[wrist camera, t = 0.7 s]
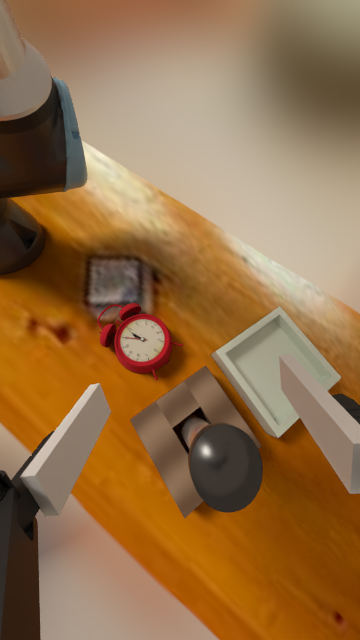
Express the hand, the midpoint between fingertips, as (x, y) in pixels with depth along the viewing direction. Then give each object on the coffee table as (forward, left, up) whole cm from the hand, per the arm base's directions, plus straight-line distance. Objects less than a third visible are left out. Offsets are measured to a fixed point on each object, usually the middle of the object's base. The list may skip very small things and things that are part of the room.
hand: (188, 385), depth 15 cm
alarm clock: (-11, 0, -22) cm, 25 cm away
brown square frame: (+7, 0, -22) cm, 23 cm away
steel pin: (+7, 0, -22) cm, 23 cm away
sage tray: (+7, +18, -22) cm, 29 cm away
